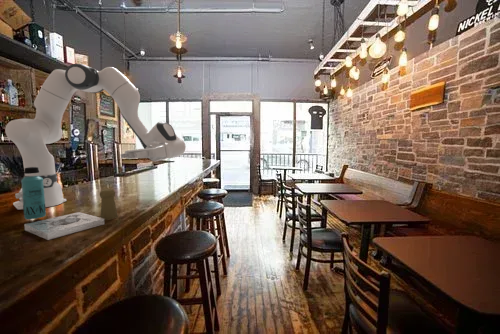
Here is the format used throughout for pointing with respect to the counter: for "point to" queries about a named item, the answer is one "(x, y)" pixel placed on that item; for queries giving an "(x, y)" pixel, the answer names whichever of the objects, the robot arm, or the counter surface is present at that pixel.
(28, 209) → the beverage bottle
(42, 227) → the jig plate
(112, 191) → the olive peg doll
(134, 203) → the counter surface
